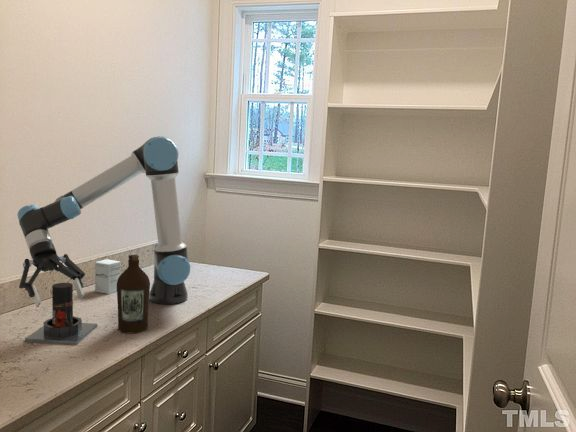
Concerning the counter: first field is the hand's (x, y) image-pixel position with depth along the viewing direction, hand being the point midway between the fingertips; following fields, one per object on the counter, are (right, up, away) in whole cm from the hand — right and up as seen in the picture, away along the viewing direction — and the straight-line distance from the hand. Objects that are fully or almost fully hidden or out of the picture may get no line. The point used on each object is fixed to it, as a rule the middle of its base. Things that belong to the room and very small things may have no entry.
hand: (60, 300), depth 162 cm
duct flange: (0, -11, +2) cm, 11 cm away
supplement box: (-3, -4, +50) cm, 51 cm away
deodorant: (0, -10, +2) cm, 10 cm away
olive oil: (+20, -11, +9) cm, 25 cm away
